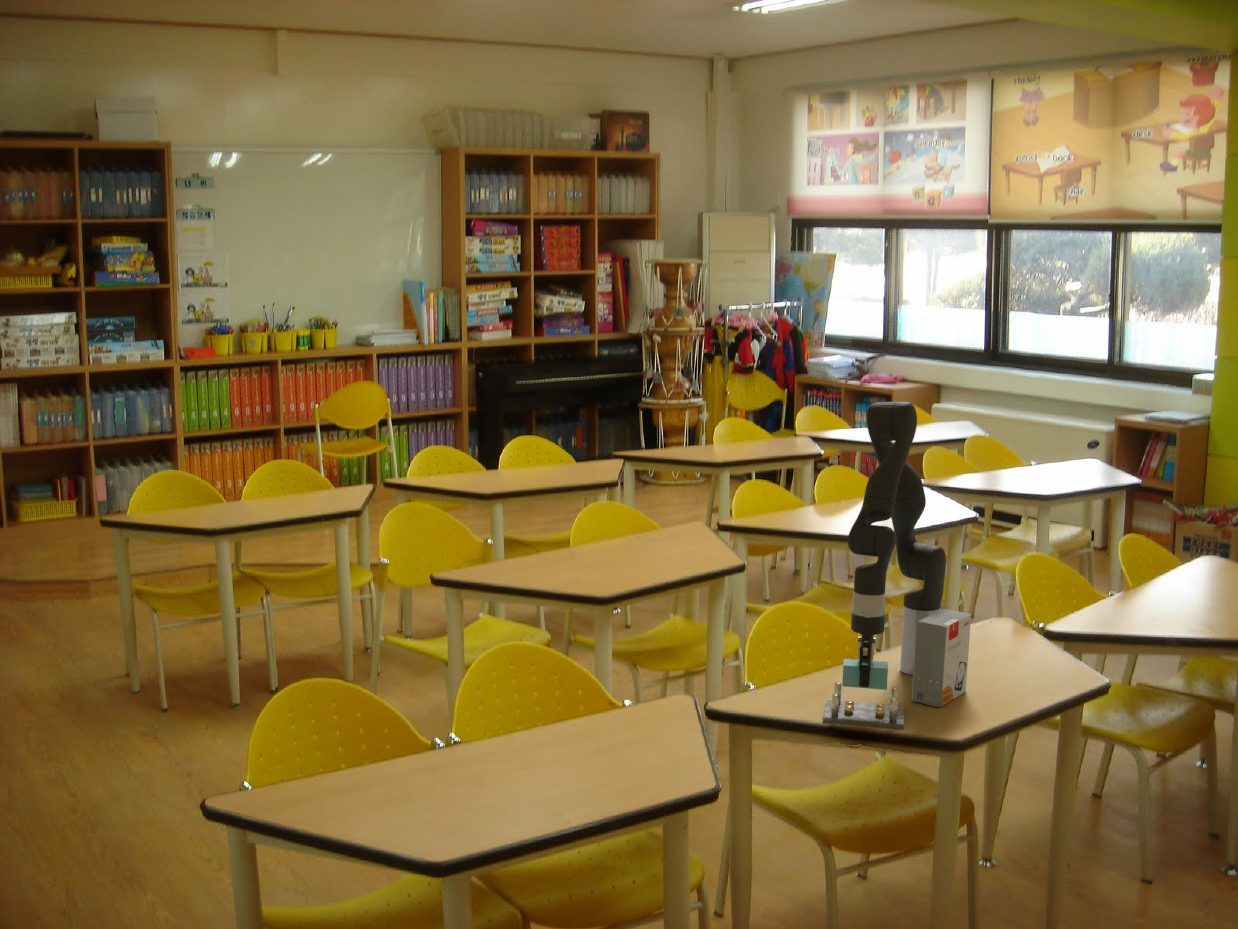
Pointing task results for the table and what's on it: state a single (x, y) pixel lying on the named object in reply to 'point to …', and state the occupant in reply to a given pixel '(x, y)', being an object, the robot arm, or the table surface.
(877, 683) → the green box
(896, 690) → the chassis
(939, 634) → the hard drive box
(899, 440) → the robot arm
